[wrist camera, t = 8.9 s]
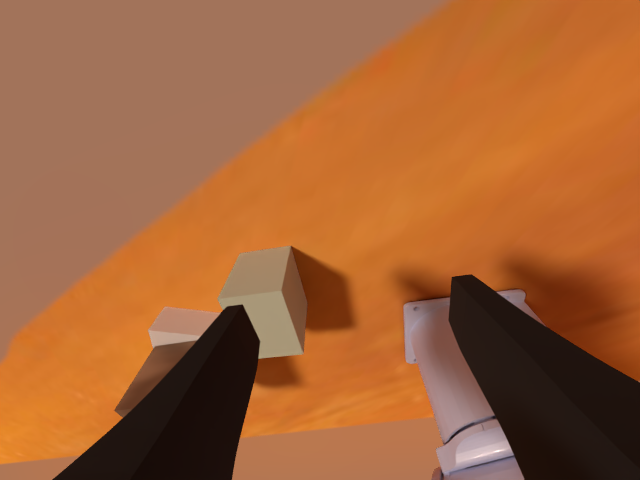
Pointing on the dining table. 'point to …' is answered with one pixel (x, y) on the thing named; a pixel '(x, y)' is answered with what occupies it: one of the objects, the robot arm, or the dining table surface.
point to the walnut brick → (152, 373)
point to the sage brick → (270, 299)
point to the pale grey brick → (180, 325)
